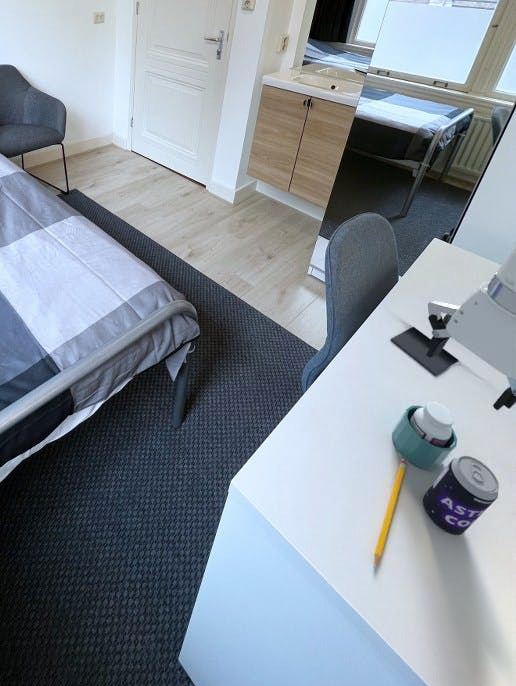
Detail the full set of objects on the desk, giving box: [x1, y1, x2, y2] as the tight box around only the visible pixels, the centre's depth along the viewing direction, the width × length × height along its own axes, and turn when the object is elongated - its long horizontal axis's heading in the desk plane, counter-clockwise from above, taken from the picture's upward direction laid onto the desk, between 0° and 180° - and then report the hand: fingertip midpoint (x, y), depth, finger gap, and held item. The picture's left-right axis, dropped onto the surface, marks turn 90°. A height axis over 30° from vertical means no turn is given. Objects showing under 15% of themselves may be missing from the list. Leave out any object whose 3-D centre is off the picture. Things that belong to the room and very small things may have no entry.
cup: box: [391, 405, 458, 471], centre depth 73 cm, size 8×8×6 cm
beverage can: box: [422, 455, 500, 536], centre depth 63 cm, size 6×6×12 cm
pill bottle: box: [409, 401, 455, 448], centre depth 72 cm, size 5×5×10 cm
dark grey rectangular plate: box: [390, 326, 459, 376], centre depth 95 cm, size 10×14×1 cm
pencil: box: [373, 459, 408, 567], centre depth 65 cm, size 1×19×1 cm, turn 138°
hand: (464, 378), depth 66 cm, fingers open, 9 cm apart
